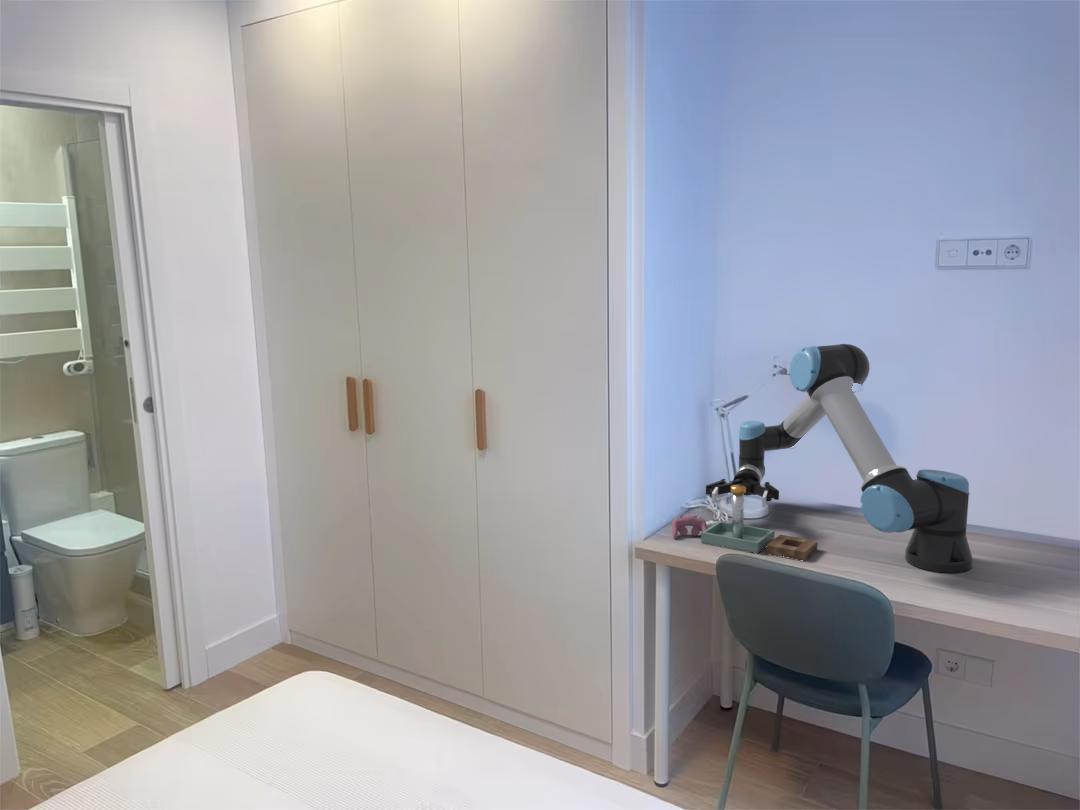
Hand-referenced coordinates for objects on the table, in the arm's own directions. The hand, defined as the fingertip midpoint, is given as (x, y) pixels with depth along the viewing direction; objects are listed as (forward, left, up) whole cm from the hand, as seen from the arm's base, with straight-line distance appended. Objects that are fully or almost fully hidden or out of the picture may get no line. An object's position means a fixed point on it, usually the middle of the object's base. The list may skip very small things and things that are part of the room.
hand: (738, 500), depth 225 cm
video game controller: (+12, +5, -12) cm, 18 cm away
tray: (-1, +2, -11) cm, 11 cm away
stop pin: (-1, +2, -11) cm, 11 cm away
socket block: (-16, +2, -11) cm, 20 cm away
